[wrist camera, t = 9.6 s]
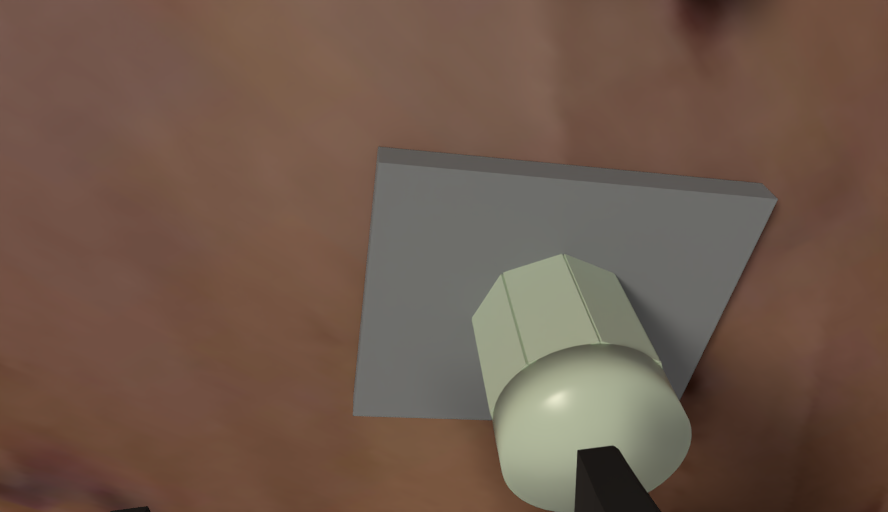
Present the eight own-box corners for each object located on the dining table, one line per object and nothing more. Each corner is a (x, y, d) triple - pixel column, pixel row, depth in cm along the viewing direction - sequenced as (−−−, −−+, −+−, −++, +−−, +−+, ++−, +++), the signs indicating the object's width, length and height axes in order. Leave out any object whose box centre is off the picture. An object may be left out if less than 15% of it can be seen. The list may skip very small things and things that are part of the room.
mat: (761, 183, 21) (778, 199, 20) (658, 406, 26) (667, 425, 25) (378, 146, 19) (378, 162, 18) (353, 395, 24) (352, 415, 23)
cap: (610, 235, 20) (680, 362, 15) (634, 348, 23) (700, 483, 18) (454, 285, 20) (478, 421, 16) (496, 390, 23) (527, 530, 19)
